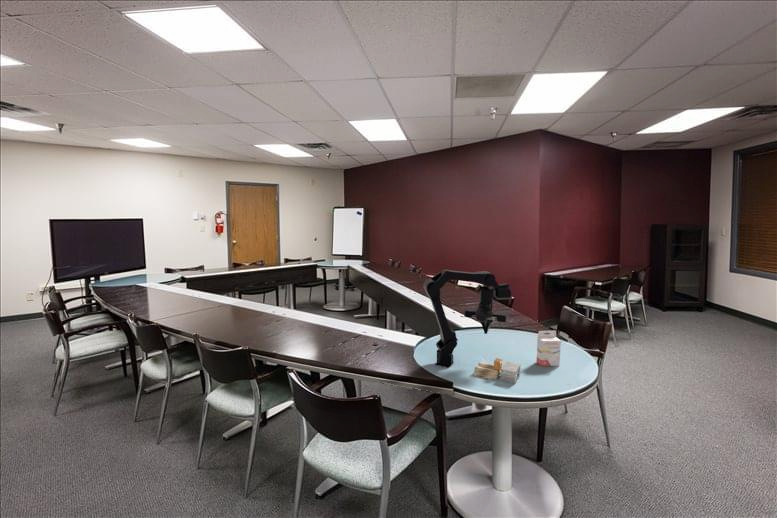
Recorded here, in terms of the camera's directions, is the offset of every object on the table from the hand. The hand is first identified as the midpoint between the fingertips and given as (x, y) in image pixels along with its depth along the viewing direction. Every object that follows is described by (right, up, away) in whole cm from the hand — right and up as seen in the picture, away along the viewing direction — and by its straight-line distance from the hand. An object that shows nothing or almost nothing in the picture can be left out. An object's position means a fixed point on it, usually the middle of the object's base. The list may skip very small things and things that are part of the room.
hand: (485, 333), depth 171 cm
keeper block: (+6, -15, -15) cm, 23 cm away
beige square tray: (-2, -15, -11) cm, 18 cm away
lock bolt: (+4, -14, -14) cm, 20 cm away
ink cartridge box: (+27, -13, -3) cm, 30 cm away
